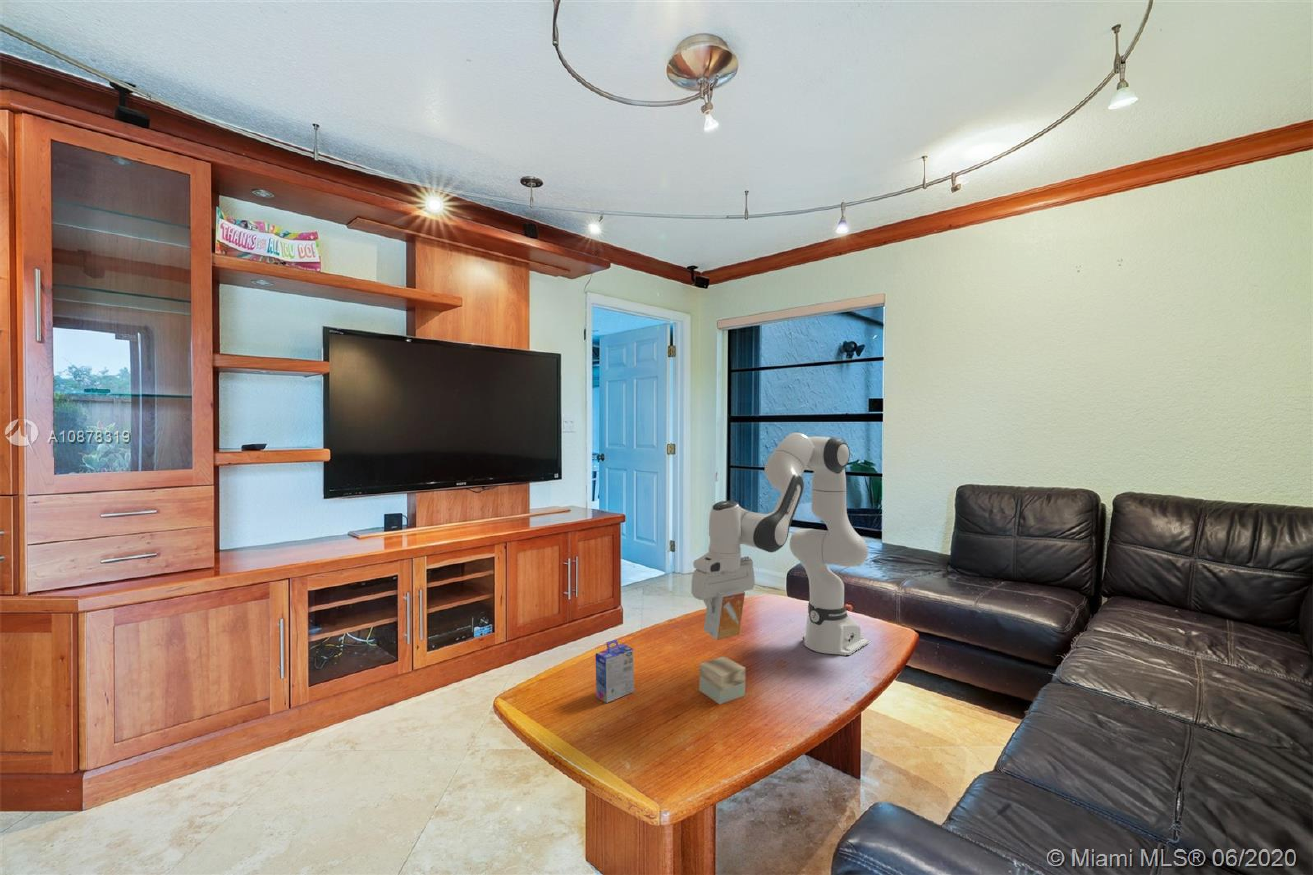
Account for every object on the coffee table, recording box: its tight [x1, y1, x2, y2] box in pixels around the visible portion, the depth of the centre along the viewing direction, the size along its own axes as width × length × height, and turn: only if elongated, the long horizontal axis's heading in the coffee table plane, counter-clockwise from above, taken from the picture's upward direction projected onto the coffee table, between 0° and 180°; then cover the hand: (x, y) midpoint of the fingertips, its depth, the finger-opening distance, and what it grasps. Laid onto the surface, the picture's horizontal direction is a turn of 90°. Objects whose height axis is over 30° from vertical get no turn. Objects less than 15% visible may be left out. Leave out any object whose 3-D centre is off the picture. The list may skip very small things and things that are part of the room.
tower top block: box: [699, 655, 746, 691], centre depth 153 cm, size 9×9×4 cm
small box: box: [703, 588, 746, 641], centre depth 152 cm, size 8×6×13 cm
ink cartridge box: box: [595, 639, 635, 704], centre depth 151 cm, size 10×6×14 cm, turn 132°
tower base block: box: [698, 678, 746, 705], centre depth 153 cm, size 9×9×4 cm
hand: (723, 609), depth 152 cm, fingers closed on small box, 8 cm apart
